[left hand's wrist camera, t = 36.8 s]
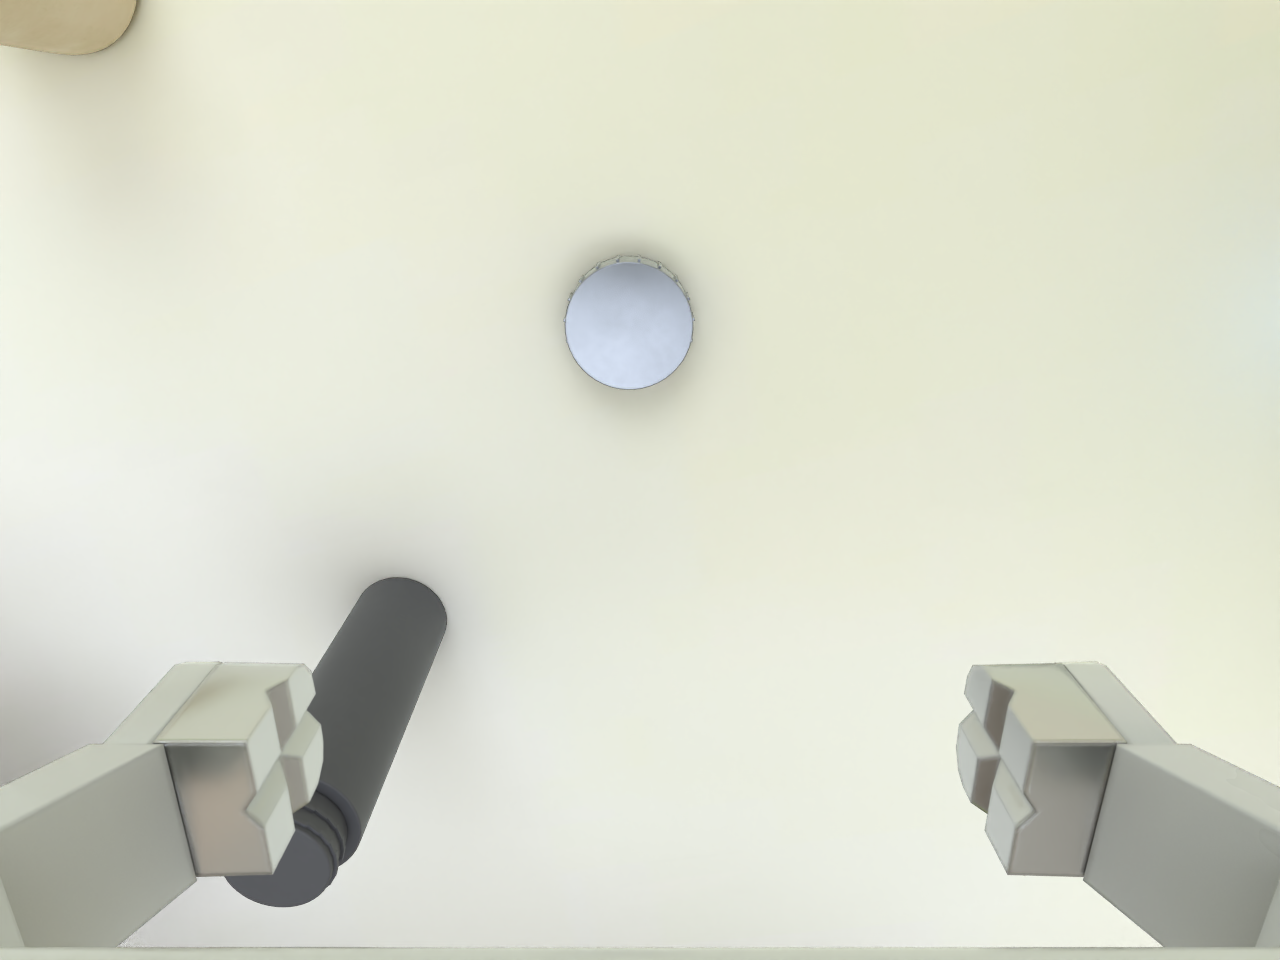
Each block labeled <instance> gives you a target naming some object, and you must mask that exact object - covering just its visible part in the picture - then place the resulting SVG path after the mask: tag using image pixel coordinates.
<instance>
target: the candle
mask: <svg viewBox="0 0 1280 960" xmlns="http://www.w3.org/2000/svg"><path fill="white" fill-rule="evenodd" d="M136 2H137V0H0V45H4V46H11V47H17V48H23V49H29V50H36V51H42V52H48V53H56V54H64V55H83V54H89V53H93V52H97V51H100V50H102V49H105V48H106V47H108V46H110V45H111V44H113V43H114V42H115V41H116V40H117V39H119V38H120V37H121V35H122V34H123V33H124V32H125V30H126V29H127V27H128V25H129V24H130V22H131V19H132V17H133V14H134V11H135V7H136Z"/></svg>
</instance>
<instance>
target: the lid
mask: <svg viewBox="0 0 1280 960" xmlns="http://www.w3.org/2000/svg"><path fill="white" fill-rule="evenodd" d="M688 300H690V298H689V295H688V292H685V291H684V289H683V287H682V285H681V284H680V282H679V281H678V277H677V275H676V274H675V275H673V274H672V273H671V272H670V271H669V270H668V269H666V268H665V267H664V266H662V265H661V262H659V261H658V263H657V262H655V261H652V260H650V259H647V258H643V257H641V255H638V257H637V256H622V257H620V255H617V257H616V258H612V259H609V260H606V261H604V262H602V263H600V262H598V263H597V265H596V266H595V267H594V268H592V269H591V270H590V271H589V272H588V273H587V274H586V275H585V276H584V275H582V276H581V278H580V280H579V284H578V285H577V287H576V289H575V291H574V293H571V294H570V296H569V298H568V301H570V302H569V304H568V307H567V311H566V315H565V318H564V322H565V334H566V342H567V343H568V346H569V349H570V352H571V354H572V356H573V358H574V359H575V361H576V362H577V364H578V365H579V366H580V367H581V368H582V370H583V371H585V372H586V373H587V374H588V375H589V376H590V377H592V378H593V379H595V380H596V381H598V382H600V383H602V384H604V385H607V386H609V387H613V388H617V389H625V390H633V389H641V388H646V387H649V386H652V385H654V384H657V383H659V382H660V381H662V380H664V379H665V378H667V377H668V376H669V375H671V374H672V373H673V372H674V371H675V370H676V369H677V368H678V367H679V365H680V364H681V363H682V361H683V360H684V358H685V356H686V354H687V352H688V350H689V347H690V344H691V342H692V340H693V339H692V334H693V321H695V320H694V316H693V312H691V308H690V305H689V301H688Z"/></svg>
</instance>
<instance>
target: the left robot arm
mask: <svg viewBox="0 0 1280 960" xmlns="http://www.w3.org/2000/svg"><path fill="white" fill-rule="evenodd" d="M315 694H316V692H315V687H314V682H313V677H312V672H311V670H310V669H309V668H308V667H307V666H306V665H305V664H293V663H245V662H225V663H222V662H184V663H180V664H176V665H174V666H173V667H172V668H171V669H170V671H169V672H168V673H167V674H166V675H165V676H164V677H163V678H162V679H161V680H160V682H159V683H158V684H157V685H156V686H155V687H154V688H153V689H152V690H151V691H150V693H149V694H148V695H147V696H146V697H145V698H144V699H143V700H142V701H141V702H140V704H139V705H138V706H137V707H136V708H135V709H134V710H133V711H132V712H131V713H130V715H129V716H128V717H127V718H126V719H125V720H124V721H123V722H122V723H121V724H120V726H119V727H118V728H117V729H116V730H115V731H114V732H113V733H112V734H111V735H110V737H109V738H108V739H107V740H106V741H105V742H104V743H103V744H88V745H86V746H84V747H82V748H80V749H78V750H76V751H74V752H72V753H70V754H68V755H66V756H64V757H61V758H59V759H57V760H55V761H53V762H51V763H49V764H47V765H45V766H43V767H41V768H39V769H37V770H35V771H33V772H30V773H28V774H26V775H24V776H22V777H20V778H18V779H16V780H14V781H12V782H10V783H8V784H6V785H4V786H2V787H0V960H1280V787H1278V786H1276V785H1274V784H1272V783H1270V782H1268V781H1266V780H1264V779H1262V778H1260V777H1258V776H1256V775H1254V774H1251V773H1249V772H1247V771H1245V770H1243V769H1241V768H1239V767H1237V766H1235V765H1233V764H1231V763H1229V762H1227V761H1225V760H1223V759H1221V758H1218V757H1216V756H1214V755H1212V754H1210V753H1208V752H1206V751H1204V750H1202V749H1200V748H1198V747H1196V746H1194V745H1192V744H1177V743H1176V742H1175V741H1174V740H1173V739H1172V738H1171V737H1170V735H1169V734H1168V733H1167V732H1166V731H1165V730H1164V729H1163V728H1162V727H1161V726H1160V724H1159V723H1158V722H1157V721H1156V720H1155V719H1154V718H1153V717H1152V716H1151V715H1150V713H1149V712H1148V711H1147V710H1146V709H1145V708H1144V707H1143V706H1142V705H1141V704H1140V702H1139V701H1138V700H1137V699H1136V698H1135V697H1134V696H1133V695H1132V694H1131V693H1130V691H1129V690H1128V689H1127V688H1126V687H1125V686H1124V685H1123V684H1122V683H1121V681H1120V680H1119V679H1118V678H1117V677H1116V676H1115V675H1114V674H1113V673H1112V672H1111V670H1110V669H1109V668H1108V667H1107V666H1105V665H1103V664H1101V663H1099V662H1096V661H1090V662H1062V663H1045V664H997V665H972V667H971V670H970V672H969V674H968V676H967V681H966V686H965V692H964V694H965V696H966V698H967V700H968V701H969V703H970V705H971V706H972V708H973V711H972V712H971V713H970V714H969V715H968V716H967V717H966V718H965V719H964V720H963V721H962V722H961V723H960V724H959V729H958V737H957V745H956V750H957V762H958V771H959V775H960V778H961V781H962V785H963V788H964V790H965V792H966V794H967V796H968V798H969V800H970V802H971V803H972V804H974V805H975V806H977V807H978V808H979V809H981V810H982V811H984V812H985V813H987V820H986V826H985V832H986V834H987V836H988V838H989V840H990V842H991V844H992V846H993V848H994V849H995V851H996V853H997V855H998V857H999V859H1000V861H1001V863H1002V865H1003V867H1004V869H1005V871H1006V873H1007V875H1034V876H1070V877H1084V878H1083V881H1084V882H1086V883H1087V884H1088V885H1089V886H1091V887H1092V888H1093V889H1094V890H1095V891H1097V892H1098V893H1099V894H1100V895H1101V896H1103V897H1104V898H1105V899H1106V900H1108V901H1109V902H1110V903H1111V904H1112V905H1114V906H1115V907H1116V908H1117V909H1118V910H1120V911H1121V912H1122V913H1123V914H1124V915H1126V916H1127V917H1128V918H1129V919H1131V920H1132V921H1133V922H1134V923H1135V924H1137V925H1138V926H1139V927H1140V928H1141V929H1143V930H1144V931H1145V932H1146V933H1148V934H1149V935H1150V936H1151V937H1152V938H1154V939H1155V940H1156V941H1157V942H1158V943H1160V944H1161V945H1162V946H1163V947H117V946H118V945H119V944H121V943H122V942H123V941H124V940H125V939H127V938H128V937H129V936H130V935H132V934H133V933H134V932H135V931H136V930H138V929H139V928H140V927H141V926H142V925H144V924H145V923H146V922H147V921H149V920H150V919H151V918H152V917H153V916H155V915H156V914H157V913H158V912H159V911H161V910H162V909H163V908H164V907H166V906H167V905H168V904H169V903H170V902H172V901H173V900H174V899H175V898H177V897H178V896H179V895H180V894H181V893H183V892H184V891H185V890H186V889H187V888H189V887H190V886H191V885H192V884H194V883H195V882H196V881H197V879H196V877H210V876H245V875H273V873H274V871H275V869H276V867H277V865H278V863H279V861H280V859H281V857H282V855H283V853H284V852H285V850H286V848H287V846H288V844H289V842H290V840H291V838H292V836H293V834H294V832H295V826H294V820H293V813H295V812H296V811H298V810H299V809H301V808H302V807H303V806H305V805H306V804H308V803H309V802H310V800H311V798H312V796H313V794H314V792H315V790H316V787H317V785H318V782H319V778H320V773H321V768H322V764H323V735H322V729H321V724H320V723H319V722H318V721H317V720H316V719H315V718H314V717H313V716H312V715H311V714H310V713H309V712H308V711H307V708H308V706H309V705H310V703H311V701H312V700H313V698H314V696H315Z"/></svg>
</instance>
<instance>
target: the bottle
mask: <svg viewBox="0 0 1280 960" xmlns="http://www.w3.org/2000/svg"><path fill="white" fill-rule="evenodd" d="M446 625H447V618H446V612H445V609H444V607H443V605H442V603H441V601H440V599H439V598H438V597H437V596H436V594H435V593H434V592H433V591H432V590H430V589H429V588H428V587H426V586H425V585H423V584H421V583H419V582H417V581H414V580H410V579H406V578H389V579H384V580H381V581H378V582H376V583H374V584H372V585H371V586H369V587H368V588H367V589H366V590H365V591H364V592H363V593H362V595H361V597H360V598H359V600H358V601H357V603H356V605H355V606H354V608H353V609H352V611H351V613H350V614H349V616H348V617H347V619H346V621H345V622H344V624H343V625H342V627H341V629H340V630H339V632H338V633H337V635H336V637H335V638H334V640H333V641H332V643H331V645H330V646H329V648H328V649H327V651H326V653H325V654H324V656H323V657H322V659H321V661H320V662H319V664H318V665H317V667H316V669H315V670H314V672H313V673H312V677H313V682H314V687H315V692H316V694H315V696H314V698H313V700H312V701H311V703H310V705H309V706H308V708H307V711H308V712H309V713H310V714H311V715H312V716H313V717H314V718H315V719H316V720H317V721H318V722H319V723H320V724H321V729H322V735H323V764H322V768H321V773H320V778H319V782H318V785H317V787H316V790H315V792H314V794H313V796H312V798H311V800H310V802H309V803H308V804H306V805H305V806H303V807H302V808H301V809H299V810H298V811H296V812H295V813H293V820H294V826H295V832H294V834H293V836H292V838H291V840H290V842H289V844H288V846H287V848H286V850H285V852H284V853H283V855H282V857H281V859H280V861H279V863H278V865H277V867H276V869H275V871H274V873H273V875H245V876H224V877H225V878H226V880H227V881H228V882H229V884H230V885H231V886H232V887H233V888H234V889H235V890H236V891H238V892H239V893H240V894H242V895H243V896H245V897H247V898H248V899H250V900H253V901H255V902H257V903H260V904H264V905H268V906H274V907H293V906H298V905H302V904H305V903H307V902H310V901H311V900H313V899H315V898H316V897H318V896H319V895H320V894H321V893H322V892H323V891H324V890H325V888H327V887H328V886H329V885H330V884H331V883H332V881H333V879H334V878H335V876H336V874H337V870H338V866H340V865H342V864H343V863H344V862H346V861H347V860H348V859H349V858H350V857H351V856H352V855H353V854H354V852H355V851H356V849H357V847H358V845H359V843H360V841H361V838H362V836H363V833H364V831H365V828H366V826H367V824H368V821H369V819H370V816H371V814H372V811H373V809H374V806H375V804H376V801H377V799H378V796H379V794H380V791H381V789H382V786H383V784H384V782H385V779H386V777H387V774H388V772H389V769H390V767H391V764H392V762H393V759H394V757H395V754H396V752H397V749H398V747H399V744H400V742H401V739H402V737H403V735H404V732H405V730H406V727H407V725H408V722H409V720H410V717H411V715H412V712H413V710H414V707H415V705H416V702H417V700H418V697H419V695H420V693H421V690H422V688H423V685H424V683H425V680H426V678H427V675H428V673H429V670H430V668H431V665H432V663H433V660H434V658H435V655H436V653H437V651H438V648H439V646H440V643H441V641H442V638H443V636H444V633H445V630H446Z"/></svg>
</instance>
